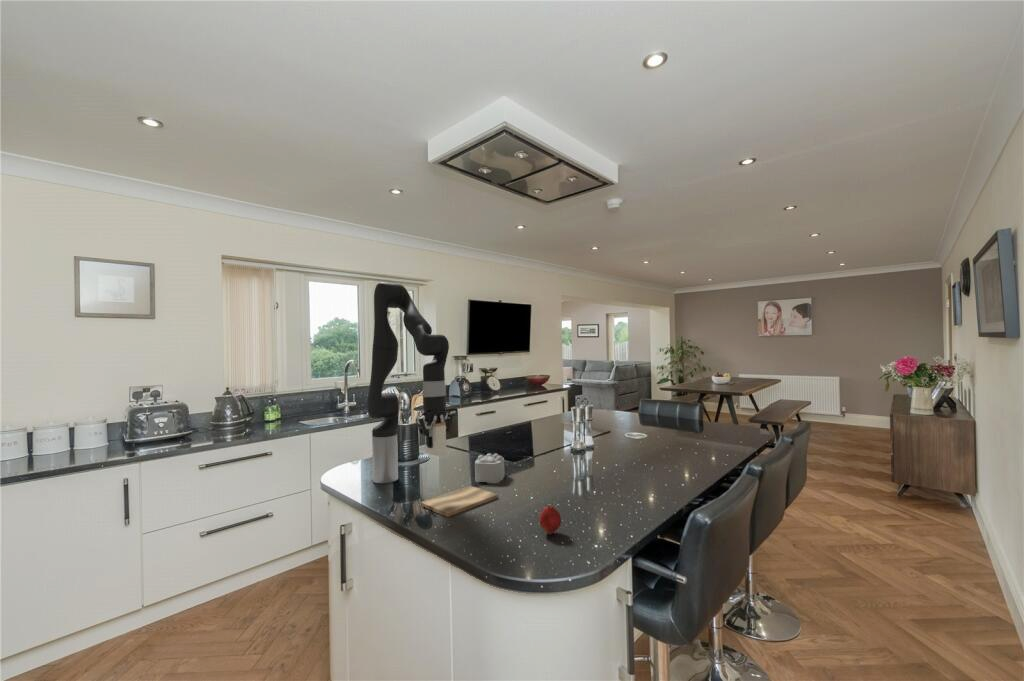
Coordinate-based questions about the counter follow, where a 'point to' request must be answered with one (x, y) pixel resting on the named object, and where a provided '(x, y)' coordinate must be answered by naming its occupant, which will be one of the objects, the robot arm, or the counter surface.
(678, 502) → the counter surface
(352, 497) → the counter surface
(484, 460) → the paw stamp
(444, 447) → the block
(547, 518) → the red strawberry
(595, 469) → the counter surface
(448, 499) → the board
